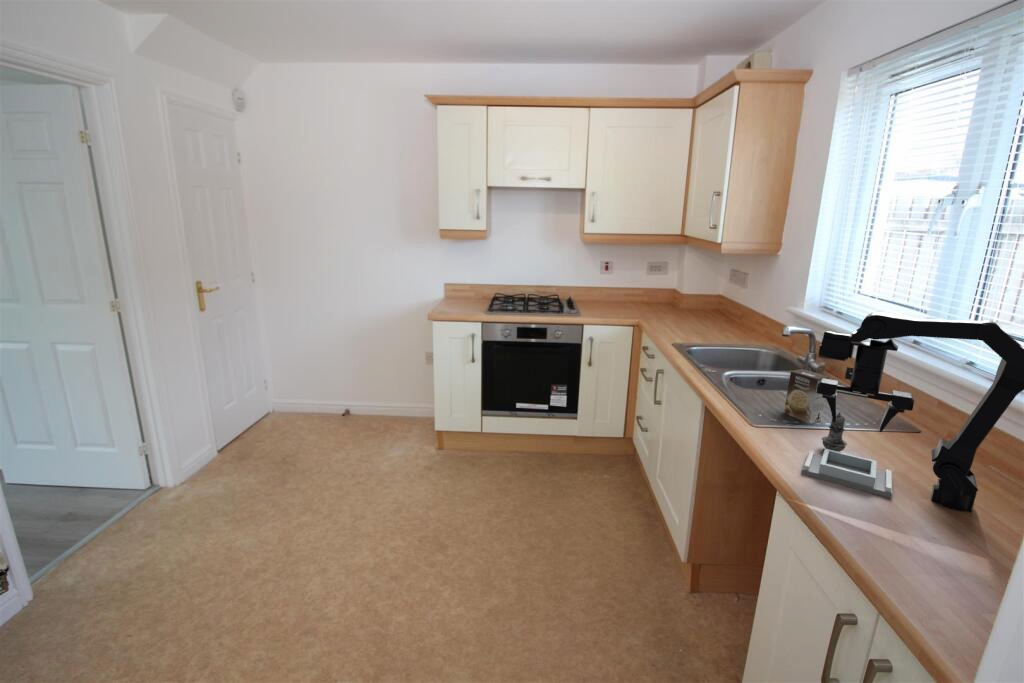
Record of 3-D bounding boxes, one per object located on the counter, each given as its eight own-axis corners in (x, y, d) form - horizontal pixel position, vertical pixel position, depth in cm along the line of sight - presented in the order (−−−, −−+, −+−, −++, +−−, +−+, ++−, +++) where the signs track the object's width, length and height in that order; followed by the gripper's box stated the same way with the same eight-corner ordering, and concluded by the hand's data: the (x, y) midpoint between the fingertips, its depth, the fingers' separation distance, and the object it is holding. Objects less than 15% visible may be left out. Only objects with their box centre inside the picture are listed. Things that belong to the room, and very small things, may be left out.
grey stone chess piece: (821, 446, 138) (829, 406, 135) (846, 453, 134) (854, 412, 132) (817, 453, 134) (824, 412, 131) (842, 460, 130) (851, 418, 127)
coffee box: (781, 417, 159) (789, 370, 155) (794, 415, 162) (801, 368, 158) (809, 428, 151) (817, 378, 147) (821, 425, 154) (830, 376, 150)
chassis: (891, 478, 121) (894, 464, 120) (891, 498, 112) (894, 483, 111) (807, 456, 132) (810, 444, 131) (801, 473, 122) (803, 460, 121)
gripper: (917, 365, 116) (904, 426, 120) (825, 352, 127) (816, 408, 131) (920, 376, 108) (905, 441, 111) (821, 361, 119) (811, 421, 122)
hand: (856, 426), depth 119 cm, fingers open, 9 cm apart
